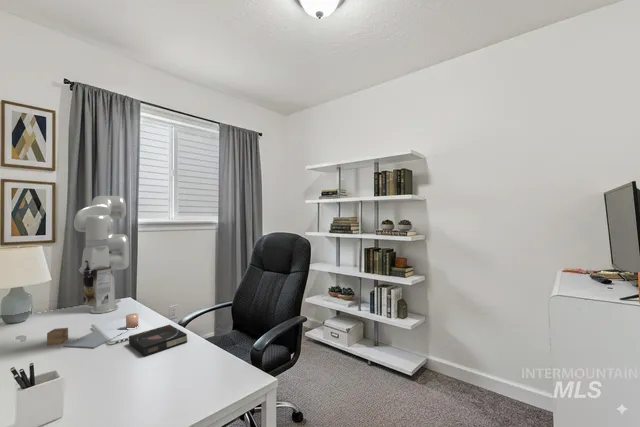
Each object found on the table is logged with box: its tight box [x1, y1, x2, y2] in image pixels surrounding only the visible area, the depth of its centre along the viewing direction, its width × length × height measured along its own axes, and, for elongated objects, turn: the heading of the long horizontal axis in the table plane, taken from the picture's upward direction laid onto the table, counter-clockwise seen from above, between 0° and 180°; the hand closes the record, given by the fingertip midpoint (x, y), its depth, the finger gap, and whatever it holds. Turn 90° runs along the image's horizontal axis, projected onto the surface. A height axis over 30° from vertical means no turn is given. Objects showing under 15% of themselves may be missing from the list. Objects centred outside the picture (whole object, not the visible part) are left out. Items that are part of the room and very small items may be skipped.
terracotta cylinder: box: [125, 313, 139, 329], centre depth 143 cm, size 5×5×6 cm
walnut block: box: [46, 327, 69, 346], centre depth 128 cm, size 5×5×5 cm
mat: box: [63, 329, 107, 349], centre depth 131 cm, size 18×14×1 cm
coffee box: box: [82, 267, 112, 308], centre depth 131 cm, size 9×6×16 cm
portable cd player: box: [128, 324, 188, 357], centre depth 126 cm, size 16×17×4 cm
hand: (97, 284), depth 131 cm, fingers closed on coffee box, 7 cm apart
